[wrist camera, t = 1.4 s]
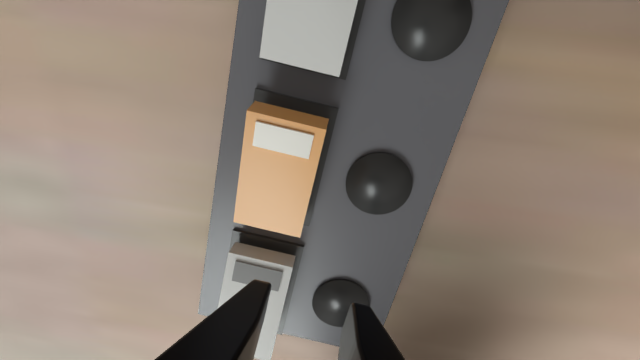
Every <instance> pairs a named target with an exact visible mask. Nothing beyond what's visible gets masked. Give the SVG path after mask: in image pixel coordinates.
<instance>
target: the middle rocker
mask: <svg viewBox="0 0 640 360" xmlns="http://www.w3.org/2000/svg"><path fill="white" fill-rule="evenodd" d="M328 121H329V119H328V118H324V117H320V116H315V115H311V114H307V113H303V112H299V111H295V110H291V109H287V108H283V107H279V106H275V105H270V104H266V103H262V102H258V101H254V103H253V104H252V105H251V106H250V107H249V108H248V109H247V112H246V121H245V129H244V137H243V145H242V154H241V162H240V170H239V179H238V187H237V195H236V204H235V212H234V220H233V222H235V223H239V224H244V225H248V226H252V227H256V228H260V229H265V230H269V231H273V232H277V233H282V234H286V235H290V236H294V237H298V238H300V236H301V232H302V228H303V224H304V220H305V216H306V212H307V208H308V204H309V200H310V195H311V191H312V187H313V183H314V179H315V175H316V171H317V167H318V163H319V159H320V154H321V150H322V146H323V142H324V138H325V134H326V130H327V125H328Z"/></svg>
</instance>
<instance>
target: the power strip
mask: <svg viewBox="0 0 640 360" xmlns="http://www.w3.org/2000/svg"><path fill="white" fill-rule="evenodd" d="M266 2H267V0H239V5H238V13H237V20H236V28H235V36H234V43H233V51H232V59H231V66H230V74H229V81H228V89H227V97H226V104H225V112H224V120H223V127H222V135H221V143H220V150H219V158H218V165H217V173H216V181H215V188H214V196H213V204H212V211H211V219H210V227H209V234H208V242H207V250H206V257H205V265H204V272H203V280H202V288H201V295H200V303H199V311H198V314H201V315H205V316H209V315H210V314H211V313H213V312H214V311H215V310H216V309H218V304H219V299H220V294H221V289H222V284H223V278H224V273H225V268H226V263H227V257H228V252H229V251H230V249H231V248H232V246H233V245H234V243H235V242H239V243H243V244H247V245H251V246H256V247H260V248H264V249H268V250H273V251H277V252H281V253H285V254H290V255H294V256H295V261H294V265H293V269H292V273H291V278H290V282H289V286H288V290H287V294H286V298H285V302H284V306H283V311H282V315H281V319H280V323H279V327H278V331H277V334H281V335H282V333H283V334H287V335H292V336H296V337H300V338H305V339H309V340H313V341H318V342H322V343H326V344H331V345H335V346H340V337H341V332H342V328H343V325H344V322H345V319H346V316H347V313H348V310H349V307H350V305H351V304H352V303H353V302H356V303H360V304H364V305H368V306H370V307H371V308H372V310H373V311H374V313H375V314H376V316H377V317H378V319H379V321H380V322H381V324H382V325H383V326H384V323H385V320H386V318H387V315H388V313H389V310H390V308H391V305H392V302H393V300H394V297H395V295H396V292H397V289H398V287H399V284H400V282H401V279H402V276H403V274H404V271H405V269H406V266H407V263H408V261H409V258H410V256H411V253H412V251H413V248H414V245H415V243H416V240H417V238H418V235H419V232H420V230H421V227H422V225H423V222H424V219H425V217H426V214H427V212H428V209H429V206H430V204H431V201H432V199H433V196H434V194H435V191H436V188H437V186H438V183H439V181H440V178H441V175H442V173H443V170H444V168H445V165H446V162H447V160H448V157H449V155H450V152H451V149H452V147H453V144H454V142H455V139H456V136H457V134H458V131H459V129H460V126H461V124H462V121H463V118H464V116H465V113H466V111H467V108H468V105H469V103H470V100H471V98H472V95H473V92H474V90H475V87H476V85H477V82H478V79H479V77H480V74H481V72H482V69H483V67H484V64H485V61H486V59H487V56H488V54H489V51H490V48H491V46H492V43H493V41H494V38H495V35H496V33H497V30H498V28H499V25H500V22H501V20H502V17H503V15H504V12H505V10H506V7H507V4H508V2H509V0H358V2H357V6H356V10H355V14H354V19H353V23H352V27H351V31H350V35H349V39H348V43H347V47H346V51H345V55H344V60H343V64H342V68H341V72H340V76H339V77H337V76H333V75H329V74H324V73H320V72H316V71H312V70H308V69H304V68H300V67H296V66H292V65H288V64H284V63H280V62H276V61H272V60H268V59H264V58H260V49H261V41H262V33H263V26H264V18H265V10H266ZM254 101H258V102H262V103H266V104H270V105H275V106H279V107H283V108H287V109H291V110H295V111H299V112H303V113H307V114H311V115H315V116H320V117H324V118H328V119H329V121H328V125H327V130H326V134H325V138H324V142H323V146H322V150H321V154H320V159H319V163H318V167H317V171H316V175H315V179H314V183H313V187H312V191H311V195H310V200H309V204H308V208H307V212H306V216H305V220H304V224H303V228H302V232H301V236H300V238H298V237H294V236H290V235H286V234H282V233H277V232H273V231H269V230H265V229H260V228H256V227H252V226H248V225H244V224H239V223H235V222H233V220H234V212H235V204H236V195H237V187H238V179H239V170H240V162H241V154H242V145H243V137H244V129H245V121H246V112H247V109H248V108H249V107H250V106H251V105H252V104H253V103H254Z"/></svg>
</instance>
